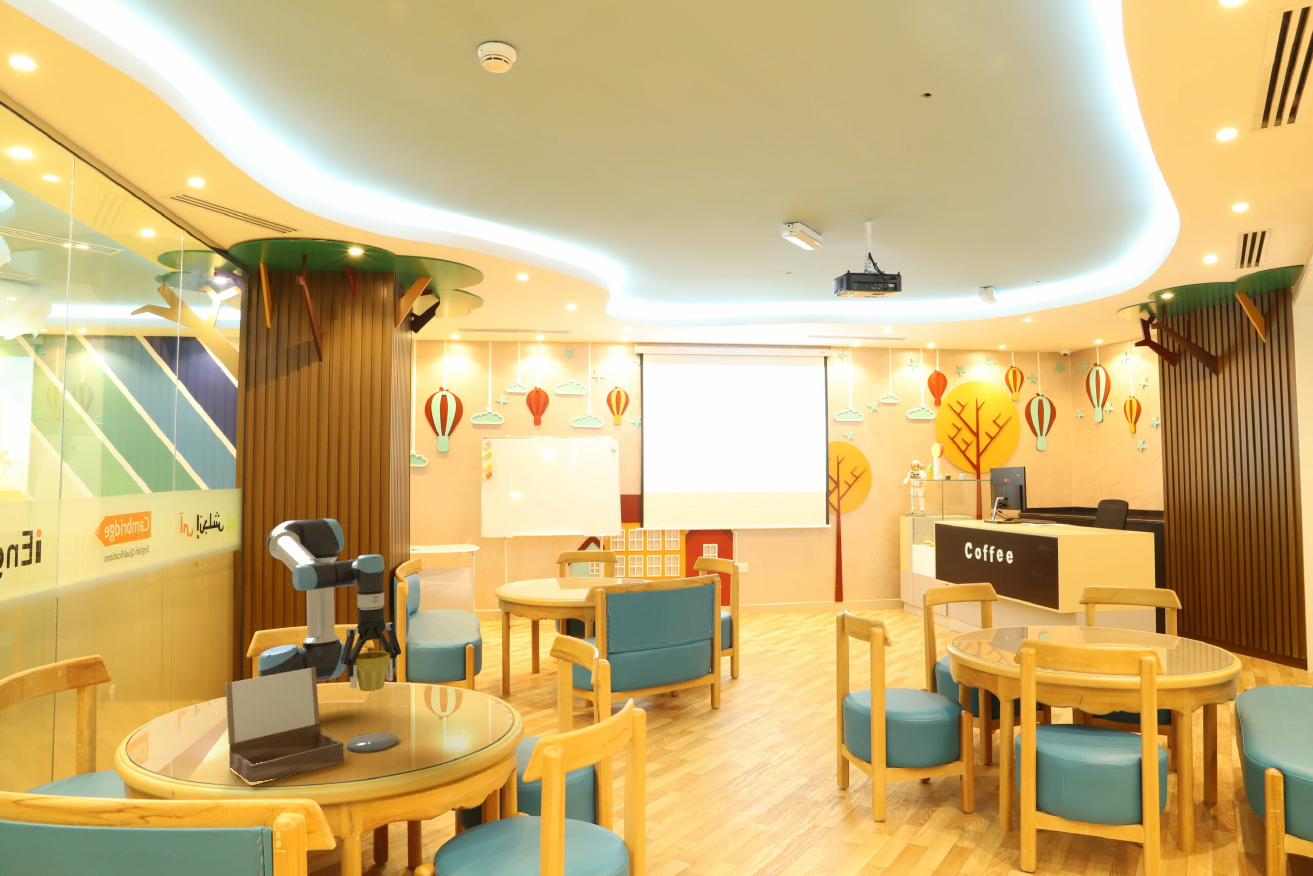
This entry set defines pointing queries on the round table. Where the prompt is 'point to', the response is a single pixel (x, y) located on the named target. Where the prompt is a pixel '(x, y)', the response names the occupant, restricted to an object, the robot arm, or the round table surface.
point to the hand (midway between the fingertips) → (371, 683)
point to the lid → (271, 704)
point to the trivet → (372, 742)
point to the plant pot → (372, 669)
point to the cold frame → (285, 753)
